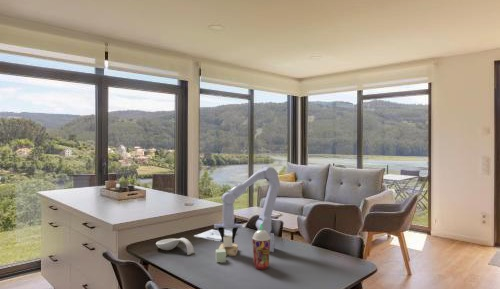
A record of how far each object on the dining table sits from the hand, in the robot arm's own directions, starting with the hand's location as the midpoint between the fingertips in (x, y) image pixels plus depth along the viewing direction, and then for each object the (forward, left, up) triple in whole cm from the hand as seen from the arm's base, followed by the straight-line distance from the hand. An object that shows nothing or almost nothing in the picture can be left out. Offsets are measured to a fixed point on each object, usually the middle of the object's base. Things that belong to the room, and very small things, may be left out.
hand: (228, 242), depth 178 cm
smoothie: (-18, +19, -6) cm, 27 cm away
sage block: (+2, +12, -6) cm, 13 cm away
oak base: (0, 0, -5) cm, 5 cm away
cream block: (0, 0, -2) cm, 2 cm away
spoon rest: (+29, -2, -6) cm, 29 cm away
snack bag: (+12, -31, -6) cm, 34 cm away
